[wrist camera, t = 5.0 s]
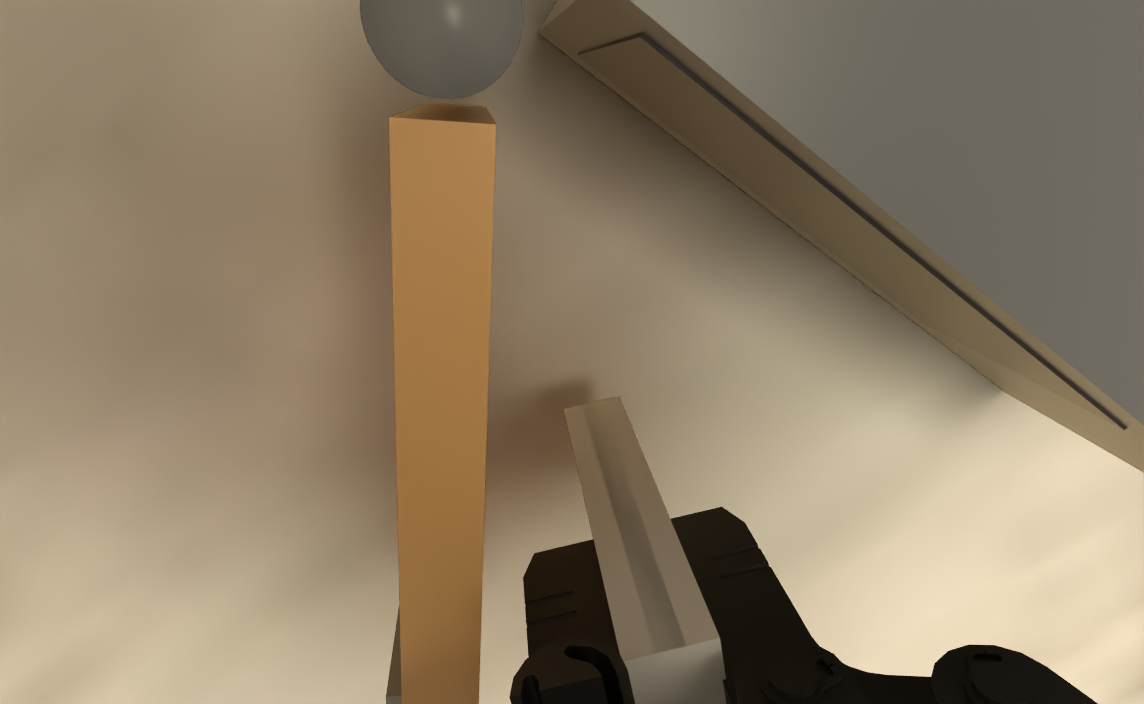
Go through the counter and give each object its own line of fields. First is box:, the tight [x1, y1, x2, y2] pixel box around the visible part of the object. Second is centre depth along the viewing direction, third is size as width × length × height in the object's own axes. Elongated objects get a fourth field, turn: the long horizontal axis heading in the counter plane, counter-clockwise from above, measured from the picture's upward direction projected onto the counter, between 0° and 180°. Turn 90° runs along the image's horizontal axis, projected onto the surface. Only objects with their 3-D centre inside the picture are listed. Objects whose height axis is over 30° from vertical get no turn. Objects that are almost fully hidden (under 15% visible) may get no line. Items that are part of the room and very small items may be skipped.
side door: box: [360, 0, 523, 704], centre depth 11 cm, size 12×2×6 cm, turn 176°
